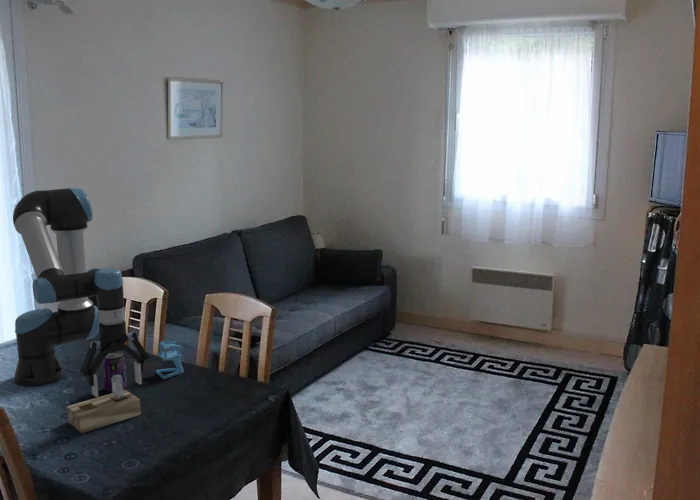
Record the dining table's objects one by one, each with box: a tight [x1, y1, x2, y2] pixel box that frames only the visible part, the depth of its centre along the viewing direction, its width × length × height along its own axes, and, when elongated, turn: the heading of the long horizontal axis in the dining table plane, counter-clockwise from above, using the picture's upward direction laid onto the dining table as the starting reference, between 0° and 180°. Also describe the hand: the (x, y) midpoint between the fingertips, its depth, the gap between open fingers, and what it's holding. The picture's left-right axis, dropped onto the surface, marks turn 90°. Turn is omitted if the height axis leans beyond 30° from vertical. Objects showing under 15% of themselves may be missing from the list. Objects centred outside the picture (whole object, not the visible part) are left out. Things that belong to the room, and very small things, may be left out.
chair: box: [155, 339, 184, 380], centre depth 238 cm, size 8×8×12 cm
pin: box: [111, 375, 124, 402], centre depth 206 cm, size 3×3×12 cm
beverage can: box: [102, 351, 128, 393], centre depth 225 cm, size 7×7×12 cm
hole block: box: [66, 389, 142, 434], centre depth 204 cm, size 10×18×5 cm, turn 133°
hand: (117, 389), depth 206 cm, fingers open, 13 cm apart
